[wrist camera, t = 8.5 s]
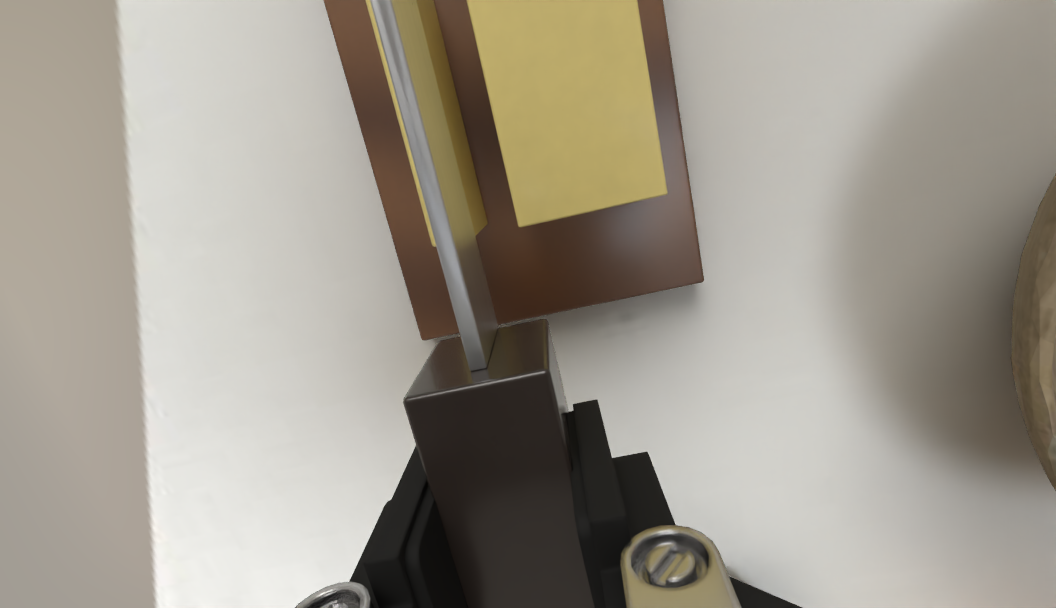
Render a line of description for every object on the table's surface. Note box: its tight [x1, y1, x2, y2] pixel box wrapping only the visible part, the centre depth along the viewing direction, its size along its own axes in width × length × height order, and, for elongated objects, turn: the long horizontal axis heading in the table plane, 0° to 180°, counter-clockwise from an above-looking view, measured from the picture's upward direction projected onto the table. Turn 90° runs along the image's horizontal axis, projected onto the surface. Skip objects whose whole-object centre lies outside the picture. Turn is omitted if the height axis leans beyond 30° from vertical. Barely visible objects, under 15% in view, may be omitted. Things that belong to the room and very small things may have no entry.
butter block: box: [467, 0, 668, 227], centre depth 15 cm, size 7×4×4 cm, turn 13°
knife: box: [370, 0, 595, 608], centre depth 9 cm, size 15×2×3 cm, turn 13°
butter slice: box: [366, 0, 488, 247], centre depth 15 cm, size 7×1×4 cm, turn 13°
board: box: [324, 0, 704, 340], centre depth 17 cm, size 14×10×1 cm
